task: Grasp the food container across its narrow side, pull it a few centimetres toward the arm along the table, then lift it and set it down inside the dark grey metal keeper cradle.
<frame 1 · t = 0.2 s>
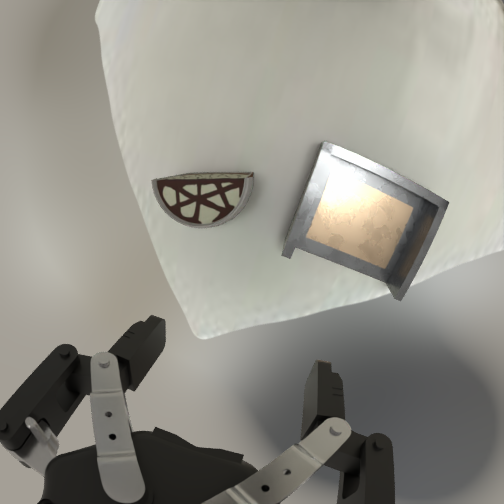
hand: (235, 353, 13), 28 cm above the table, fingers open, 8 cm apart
keeper cradle: (361, 216, 37), on the table
food container: (221, 192, 40), on the table
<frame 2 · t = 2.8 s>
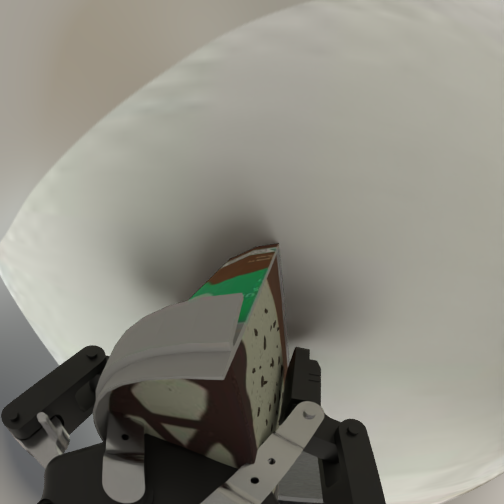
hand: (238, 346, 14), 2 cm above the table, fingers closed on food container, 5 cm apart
keeper cradle: (246, 468, 23), on the table
food container: (234, 320, 16), on the table, touching gripper
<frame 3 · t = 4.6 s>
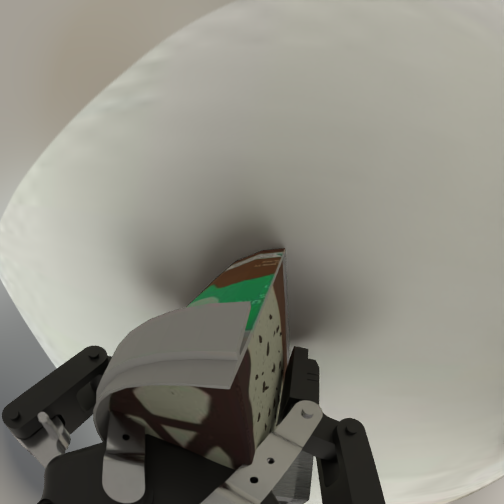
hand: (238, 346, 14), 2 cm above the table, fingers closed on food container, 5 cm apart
keeper cradle: (219, 461, 23), on the table
food container: (236, 322, 16), on the table, touching gripper
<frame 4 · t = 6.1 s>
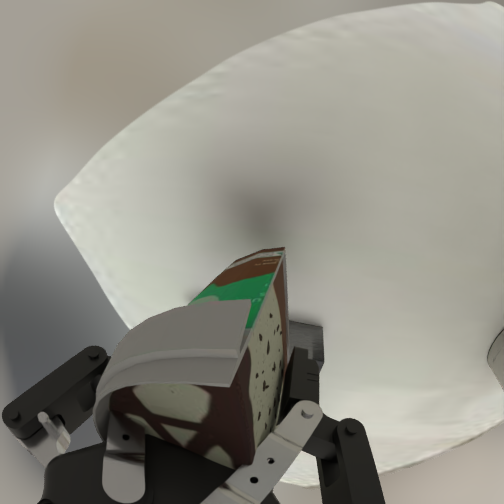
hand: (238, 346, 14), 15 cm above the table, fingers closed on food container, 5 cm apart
keeper cradle: (247, 368, 34), on the table
food container: (236, 322, 16), point 13 cm above the table, touching gripper
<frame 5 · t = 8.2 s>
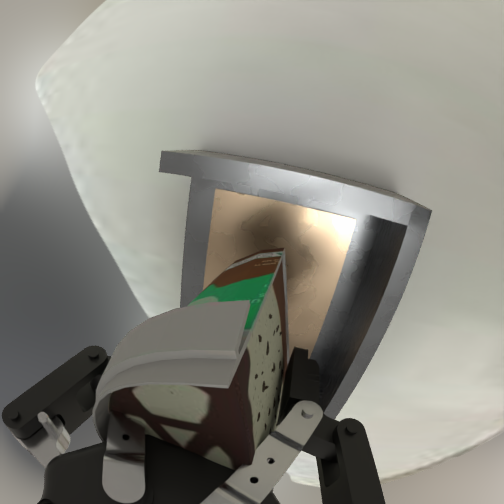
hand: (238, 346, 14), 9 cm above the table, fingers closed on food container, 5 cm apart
keeper cradle: (275, 281, 22), on the table
food container: (236, 322, 16), point 7 cm above the table, touching gripper
when the fingers open (4 cm above the table, at t = 9.5 s): food container drops 1 cm, resting on keeper cradle.
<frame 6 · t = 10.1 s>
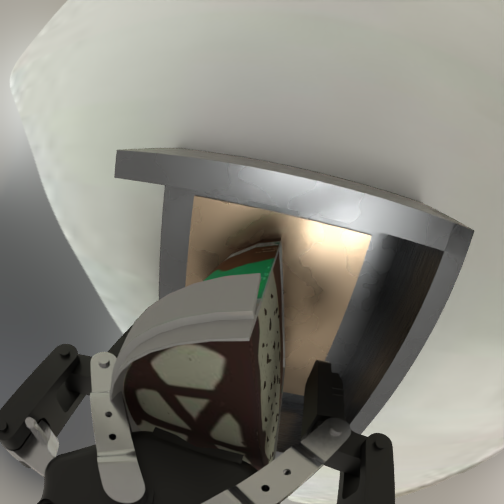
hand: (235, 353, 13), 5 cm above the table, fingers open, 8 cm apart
keeper cradle: (270, 307, 18), on the table
food container: (235, 309, 17), point 1 cm above the table, touching gripper, keeper cradle
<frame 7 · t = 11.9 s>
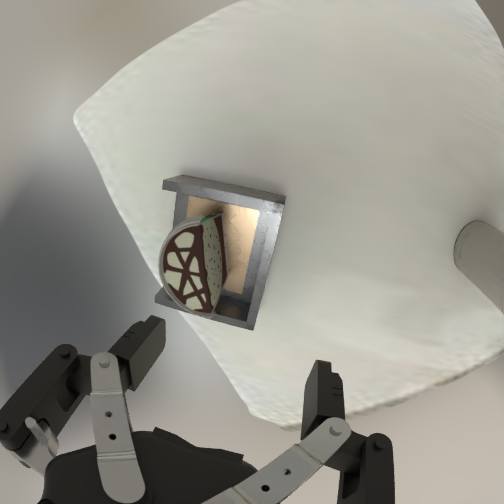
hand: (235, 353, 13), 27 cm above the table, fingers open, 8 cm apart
keeper cradle: (221, 244, 41), on the table
food container: (205, 244, 40), point 1 cm above the table, touching keeper cradle
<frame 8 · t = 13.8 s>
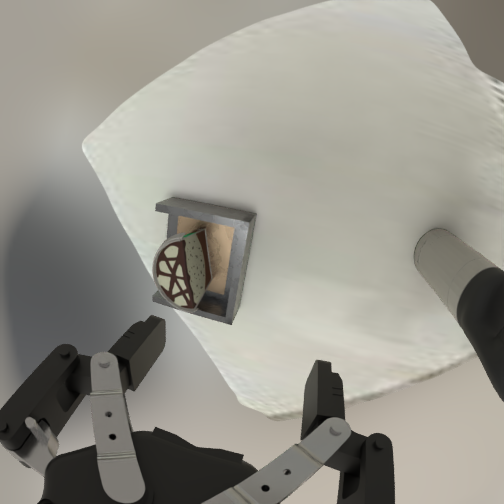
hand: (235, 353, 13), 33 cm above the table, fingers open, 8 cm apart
keeper cradle: (206, 254, 49), on the table
food container: (193, 253, 48), point 1 cm above the table, touching keeper cradle
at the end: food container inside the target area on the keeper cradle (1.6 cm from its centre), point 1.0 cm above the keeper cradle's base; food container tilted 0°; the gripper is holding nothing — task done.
